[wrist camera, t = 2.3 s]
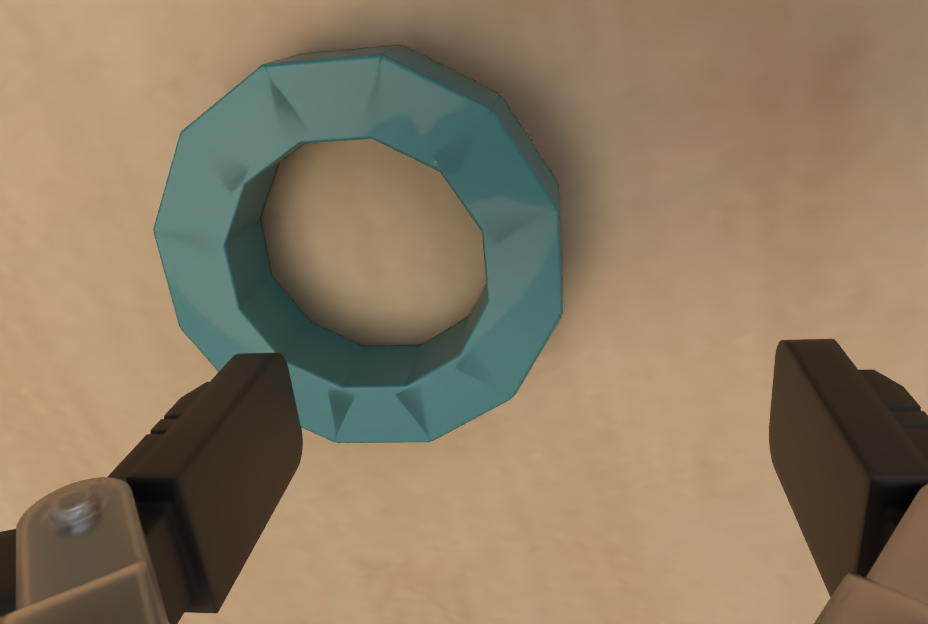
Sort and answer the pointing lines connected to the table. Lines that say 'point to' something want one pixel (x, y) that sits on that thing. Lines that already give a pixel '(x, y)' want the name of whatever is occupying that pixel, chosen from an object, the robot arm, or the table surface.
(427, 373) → the ring
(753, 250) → the table surface
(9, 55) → the table surface
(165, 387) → the table surface
